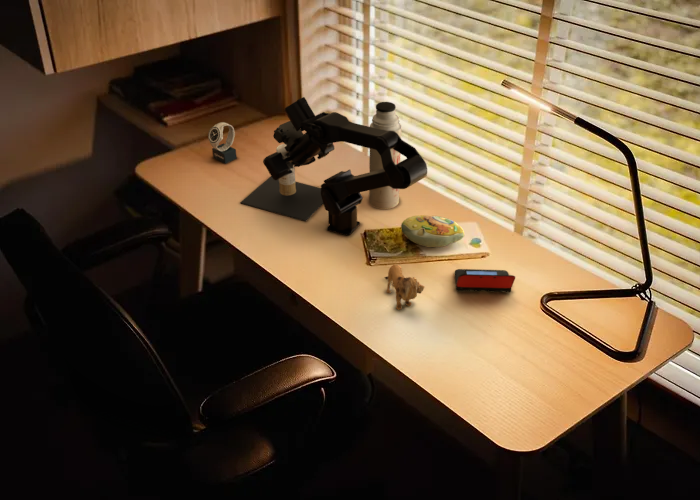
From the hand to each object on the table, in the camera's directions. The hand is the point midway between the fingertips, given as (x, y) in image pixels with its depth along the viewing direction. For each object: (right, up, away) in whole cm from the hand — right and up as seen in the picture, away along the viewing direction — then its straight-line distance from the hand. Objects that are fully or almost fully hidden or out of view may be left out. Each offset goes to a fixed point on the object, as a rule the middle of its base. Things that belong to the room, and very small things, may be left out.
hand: (283, 168), depth 209 cm
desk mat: (+1, -7, +4) cm, 9 cm away
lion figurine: (+29, -33, -31) cm, 54 cm away
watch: (-19, +5, +23) cm, 30 cm away
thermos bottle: (+27, -9, +3) cm, 28 cm away
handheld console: (+48, -30, -28) cm, 63 cm away
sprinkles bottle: (+1, -6, +3) cm, 7 cm away
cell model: (+38, -19, -12) cm, 44 cm away
